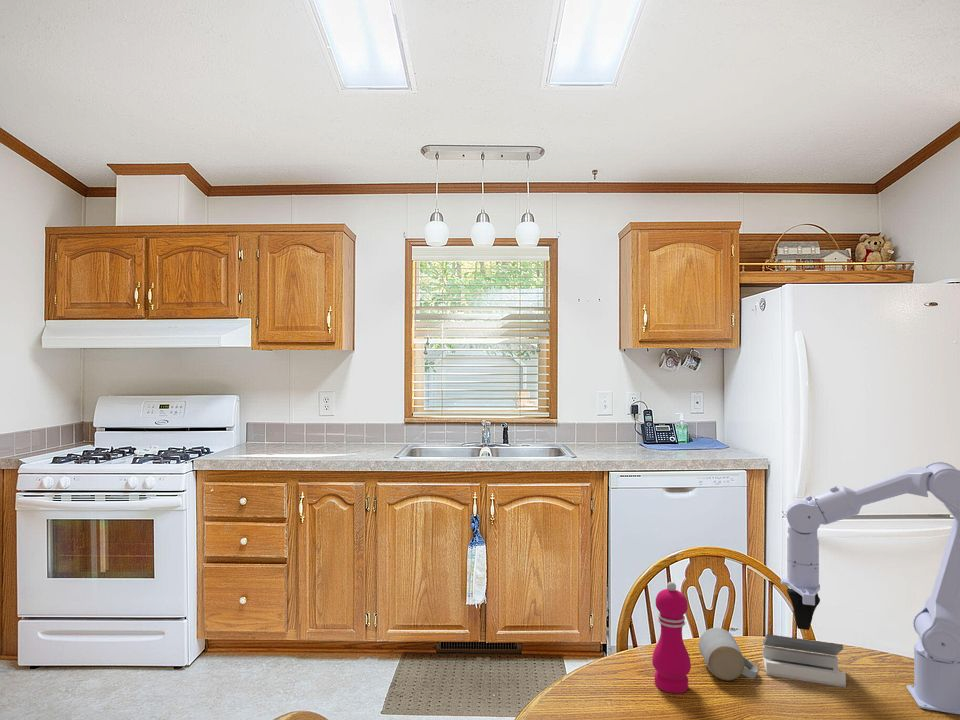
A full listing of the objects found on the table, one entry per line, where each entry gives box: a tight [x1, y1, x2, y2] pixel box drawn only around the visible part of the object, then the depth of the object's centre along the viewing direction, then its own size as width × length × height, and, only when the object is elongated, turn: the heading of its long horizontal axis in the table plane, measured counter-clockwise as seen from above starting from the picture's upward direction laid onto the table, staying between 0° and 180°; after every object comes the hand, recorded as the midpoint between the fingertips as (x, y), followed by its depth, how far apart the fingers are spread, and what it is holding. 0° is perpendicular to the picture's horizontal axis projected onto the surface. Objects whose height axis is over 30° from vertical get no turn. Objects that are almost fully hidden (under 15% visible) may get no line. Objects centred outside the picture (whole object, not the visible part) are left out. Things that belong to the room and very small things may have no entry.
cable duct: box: [762, 645, 847, 688], centre depth 124 cm, size 14×8×2 cm, turn 70°
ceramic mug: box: [698, 627, 759, 682], centre depth 123 cm, size 11×8×8 cm
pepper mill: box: [651, 581, 692, 694], centre depth 119 cm, size 7×7×20 cm
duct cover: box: [763, 633, 844, 656], centre depth 125 cm, size 14×8×1 cm
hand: (802, 628), depth 123 cm, fingers closed
